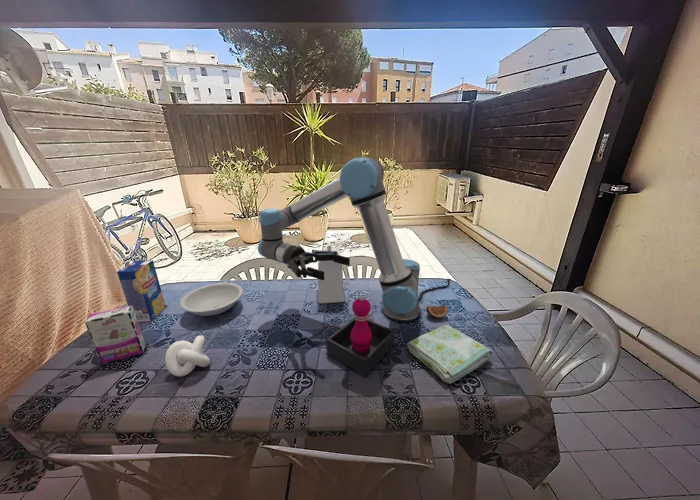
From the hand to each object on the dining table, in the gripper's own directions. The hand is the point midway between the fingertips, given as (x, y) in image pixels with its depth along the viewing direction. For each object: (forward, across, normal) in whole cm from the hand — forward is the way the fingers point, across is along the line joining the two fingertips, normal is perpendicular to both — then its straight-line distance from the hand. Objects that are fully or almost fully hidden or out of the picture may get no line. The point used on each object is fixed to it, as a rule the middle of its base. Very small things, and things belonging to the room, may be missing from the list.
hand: (337, 268), depth 88 cm
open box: (+10, 0, -28) cm, 30 cm away
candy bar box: (-54, +47, -28) cm, 77 cm away
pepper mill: (+10, 0, -27) cm, 29 cm away
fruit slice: (+24, -34, -28) cm, 51 cm away
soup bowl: (-56, +15, -28) cm, 64 cm away
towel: (+35, -14, -28) cm, 47 cm away
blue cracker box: (-75, +32, -28) cm, 86 cm away
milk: (-22, -22, -28) cm, 42 cm away
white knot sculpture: (-30, +36, -28) cm, 55 cm away
